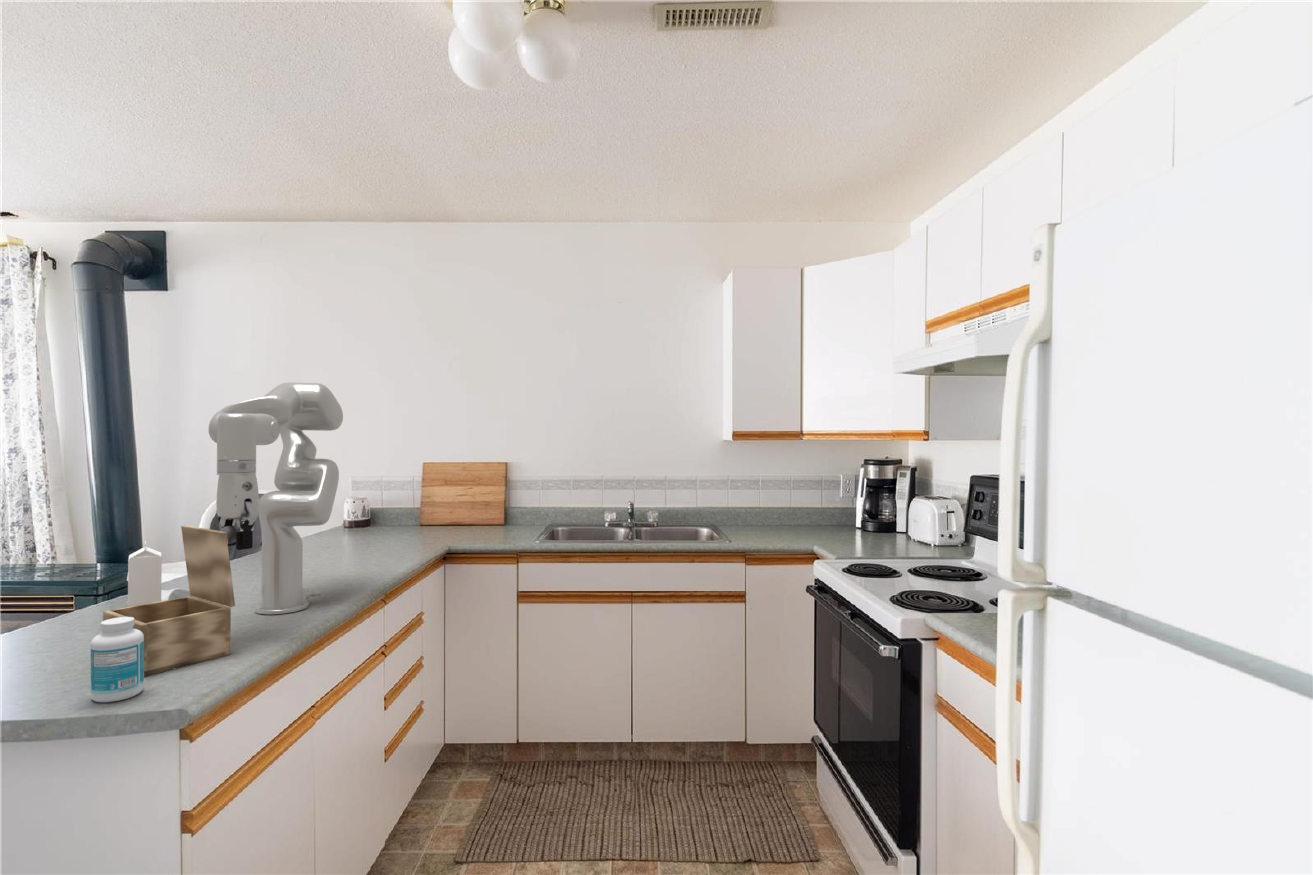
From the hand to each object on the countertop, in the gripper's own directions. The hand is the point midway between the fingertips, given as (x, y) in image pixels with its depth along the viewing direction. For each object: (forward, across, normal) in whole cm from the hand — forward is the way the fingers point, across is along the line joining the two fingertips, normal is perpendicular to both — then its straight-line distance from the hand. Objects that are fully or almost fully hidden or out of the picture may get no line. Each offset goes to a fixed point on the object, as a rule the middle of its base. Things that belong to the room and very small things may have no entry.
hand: (236, 546), depth 150 cm
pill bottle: (+22, -16, +27) cm, 38 cm away
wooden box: (+21, 0, +13) cm, 25 cm away
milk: (+21, +19, +10) cm, 30 cm away
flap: (+3, 0, +6) cm, 7 cm away
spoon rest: (+22, +40, -4) cm, 46 cm away
